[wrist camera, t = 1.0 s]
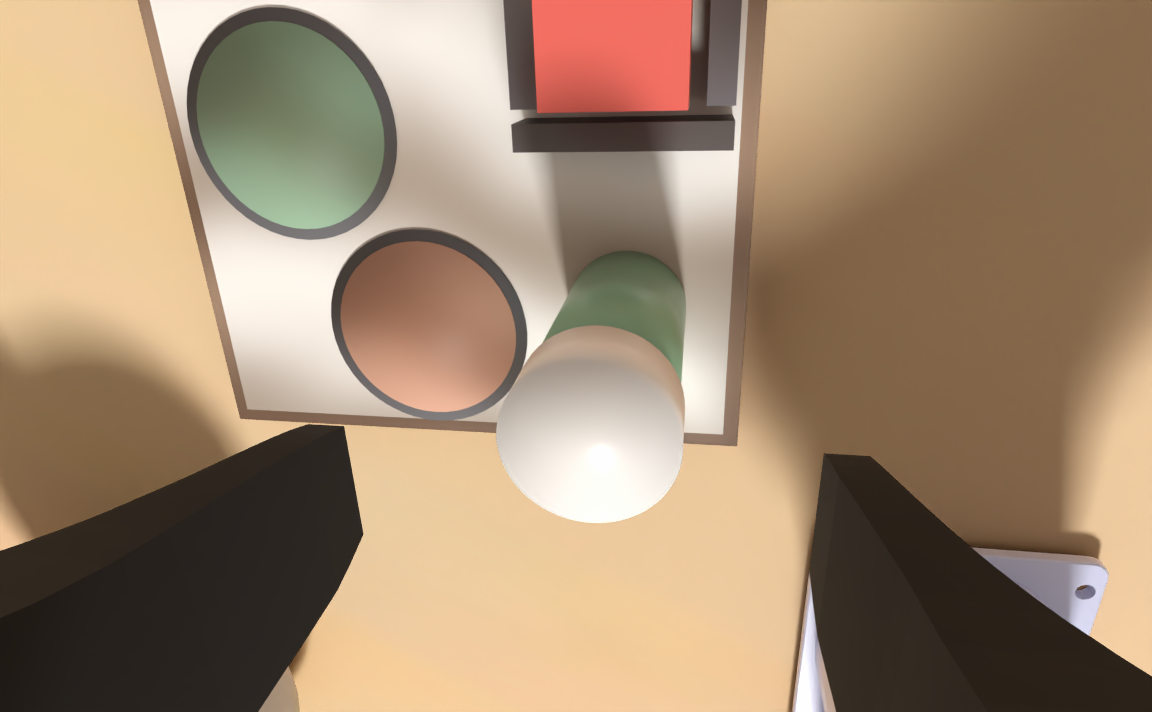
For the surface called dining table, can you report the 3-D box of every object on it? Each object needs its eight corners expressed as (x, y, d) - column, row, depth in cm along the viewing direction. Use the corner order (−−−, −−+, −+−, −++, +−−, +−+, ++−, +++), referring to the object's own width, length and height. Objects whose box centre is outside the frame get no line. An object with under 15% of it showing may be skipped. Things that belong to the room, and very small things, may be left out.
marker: (688, 366, 19) (680, 529, 12) (568, 361, 19) (503, 516, 13) (692, 247, 18) (686, 362, 11) (564, 245, 18) (489, 354, 12)
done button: (689, 103, 15) (688, 110, 13) (554, 106, 16) (537, 112, 14) (694, -54, 14) (694, -69, 12) (548, -47, 14) (528, -58, 13)
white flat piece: (735, 425, 21) (739, 478, 18) (261, 401, 23) (208, 445, 21) (769, -100, 16) (782, -127, 13) (156, -60, 18) (66, -77, 15)
